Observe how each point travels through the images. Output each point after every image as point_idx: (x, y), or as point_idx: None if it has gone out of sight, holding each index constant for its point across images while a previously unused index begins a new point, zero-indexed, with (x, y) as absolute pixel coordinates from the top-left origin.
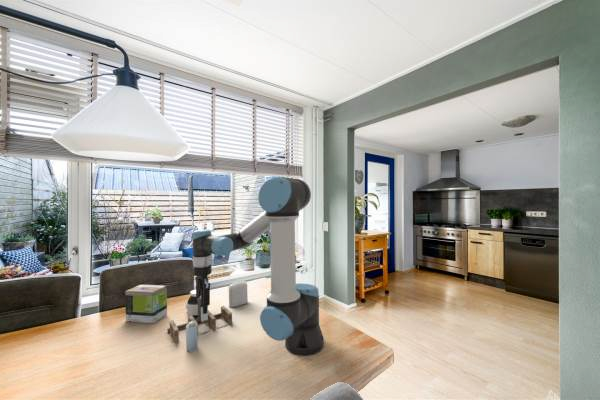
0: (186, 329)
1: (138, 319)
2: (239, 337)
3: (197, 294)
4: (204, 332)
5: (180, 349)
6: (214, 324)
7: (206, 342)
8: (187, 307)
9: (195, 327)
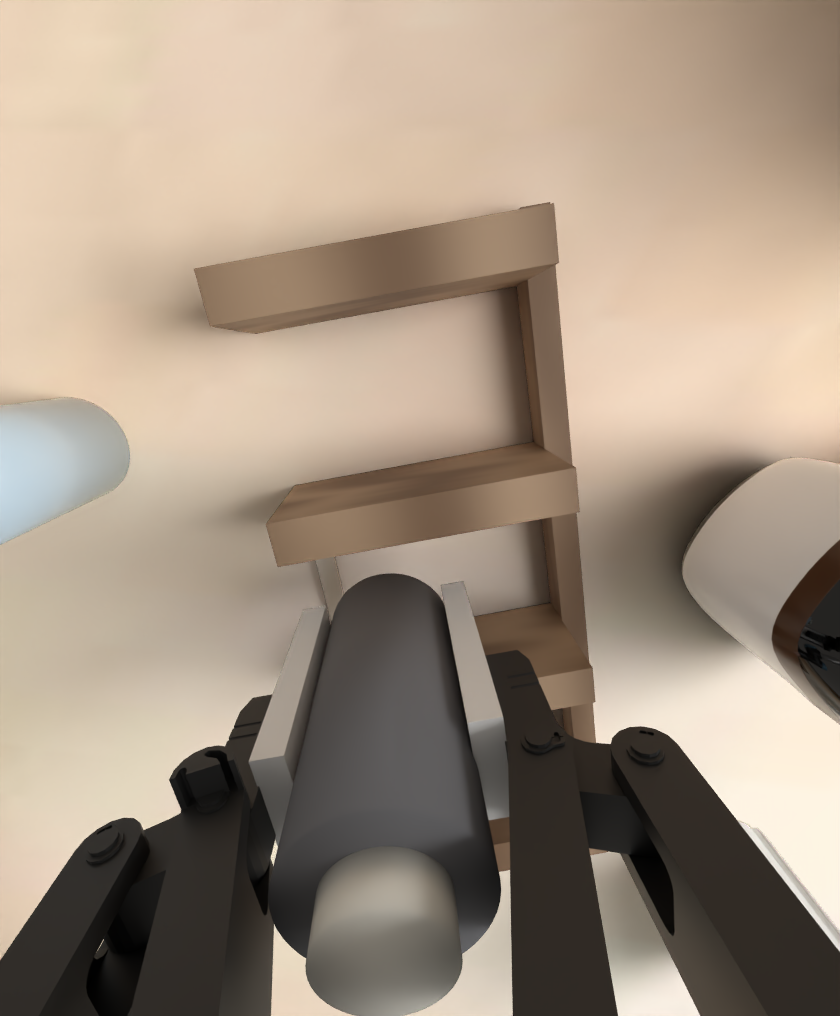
0: None
1: None
2: (122, 807)
3: (655, 843)
4: (324, 577)
5: (98, 343)
6: None
7: (140, 574)
8: None
9: None
